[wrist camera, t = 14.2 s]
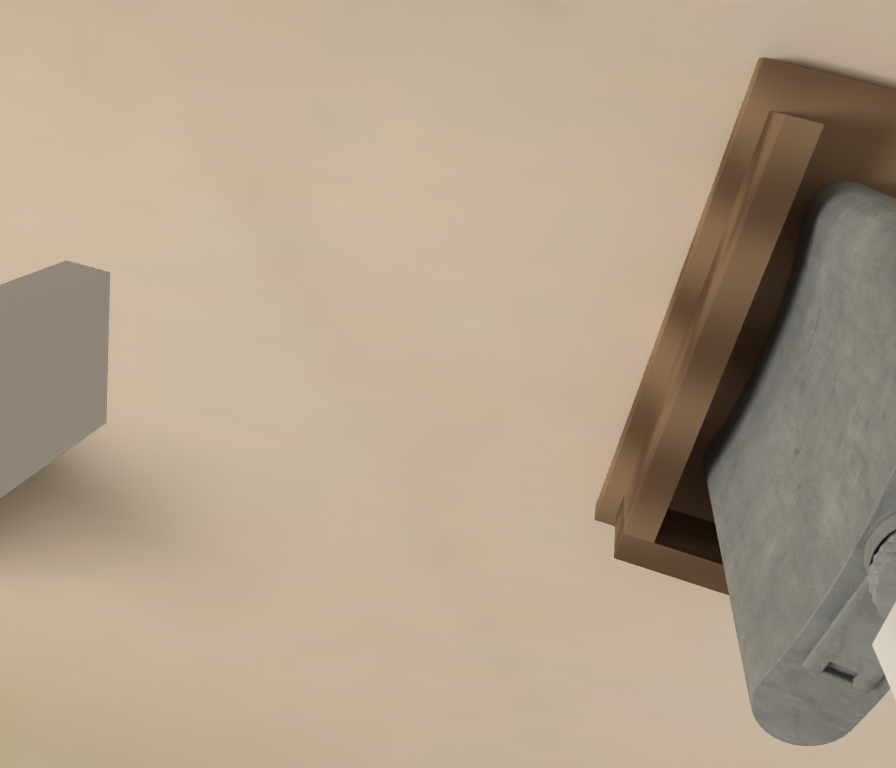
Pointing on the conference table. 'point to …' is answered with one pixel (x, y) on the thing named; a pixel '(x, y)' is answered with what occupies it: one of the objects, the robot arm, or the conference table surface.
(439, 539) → the conference table surface
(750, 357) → the u rest
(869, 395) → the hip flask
